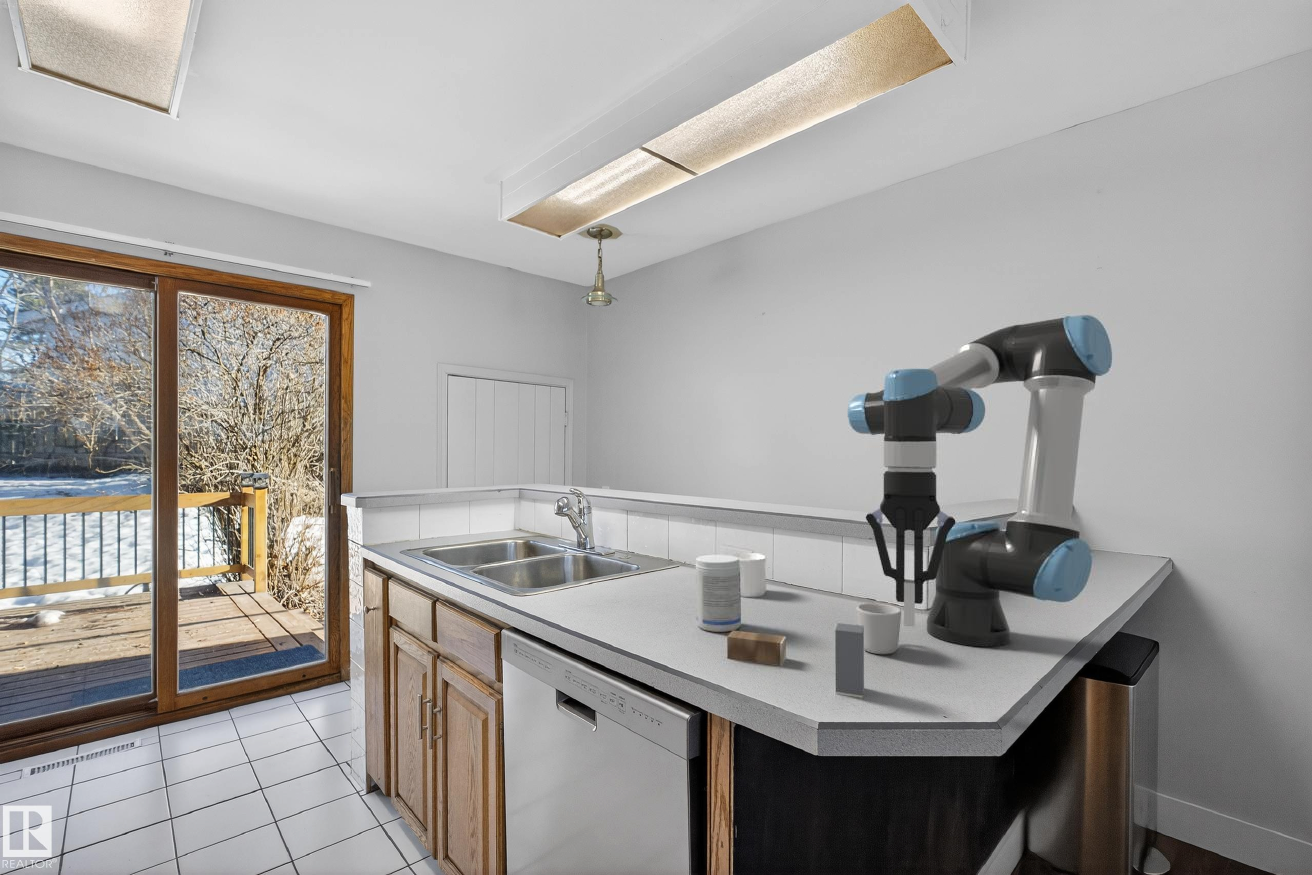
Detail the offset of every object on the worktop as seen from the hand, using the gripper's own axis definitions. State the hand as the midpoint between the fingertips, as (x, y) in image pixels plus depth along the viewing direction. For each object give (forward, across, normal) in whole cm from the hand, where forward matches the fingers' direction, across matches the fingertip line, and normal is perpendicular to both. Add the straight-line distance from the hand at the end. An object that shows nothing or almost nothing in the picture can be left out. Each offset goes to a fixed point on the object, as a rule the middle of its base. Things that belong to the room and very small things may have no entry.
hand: (909, 623), depth 94 cm
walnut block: (+10, +21, -9) cm, 25 cm away
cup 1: (+12, +39, -56) cm, 69 cm away
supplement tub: (+12, +38, -25) cm, 47 cm away
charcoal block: (+12, +9, 0) cm, 15 cm away
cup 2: (+12, +5, -23) cm, 27 cm away
